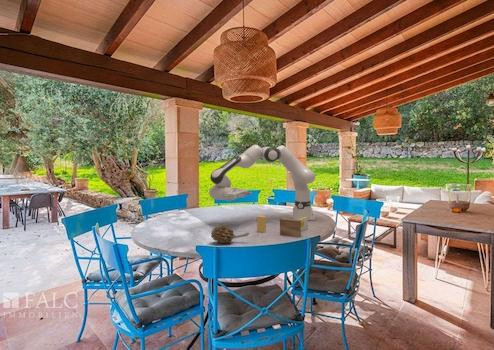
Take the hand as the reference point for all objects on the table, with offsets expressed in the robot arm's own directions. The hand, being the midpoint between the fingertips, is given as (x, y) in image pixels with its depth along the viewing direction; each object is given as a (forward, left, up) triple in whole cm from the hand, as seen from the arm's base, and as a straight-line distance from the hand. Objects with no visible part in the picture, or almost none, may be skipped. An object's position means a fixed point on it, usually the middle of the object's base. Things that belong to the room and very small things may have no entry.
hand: (247, 194), depth 191 cm
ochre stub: (+4, +12, -23) cm, 26 cm away
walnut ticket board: (+4, +31, -23) cm, 39 cm away
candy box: (-8, +34, -24) cm, 42 cm away
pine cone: (+32, +5, -24) cm, 40 cm away
